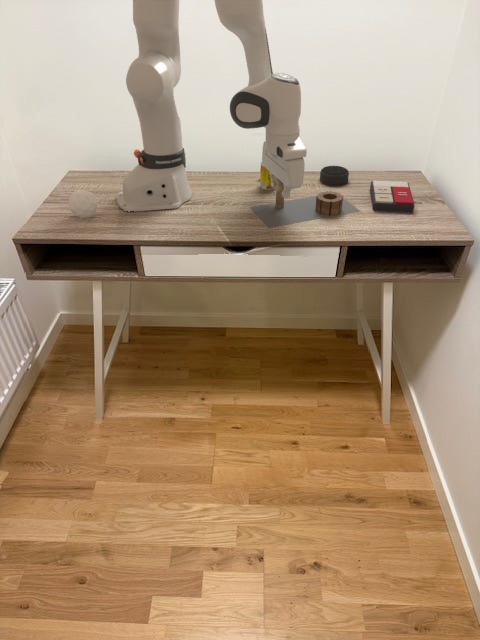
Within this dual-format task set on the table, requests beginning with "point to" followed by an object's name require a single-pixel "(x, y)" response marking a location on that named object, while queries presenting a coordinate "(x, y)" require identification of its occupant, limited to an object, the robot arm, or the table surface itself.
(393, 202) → the calculator
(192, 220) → the table surface
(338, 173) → the smart speaker
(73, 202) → the geometric ball
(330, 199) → the bead
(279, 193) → the dowel
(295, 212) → the felt mat
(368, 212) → the table surface
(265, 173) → the supplement bottle
